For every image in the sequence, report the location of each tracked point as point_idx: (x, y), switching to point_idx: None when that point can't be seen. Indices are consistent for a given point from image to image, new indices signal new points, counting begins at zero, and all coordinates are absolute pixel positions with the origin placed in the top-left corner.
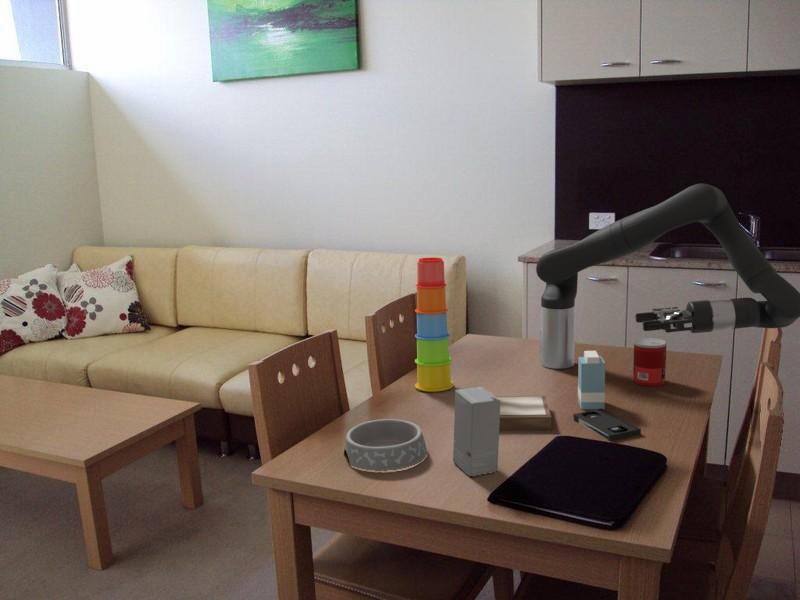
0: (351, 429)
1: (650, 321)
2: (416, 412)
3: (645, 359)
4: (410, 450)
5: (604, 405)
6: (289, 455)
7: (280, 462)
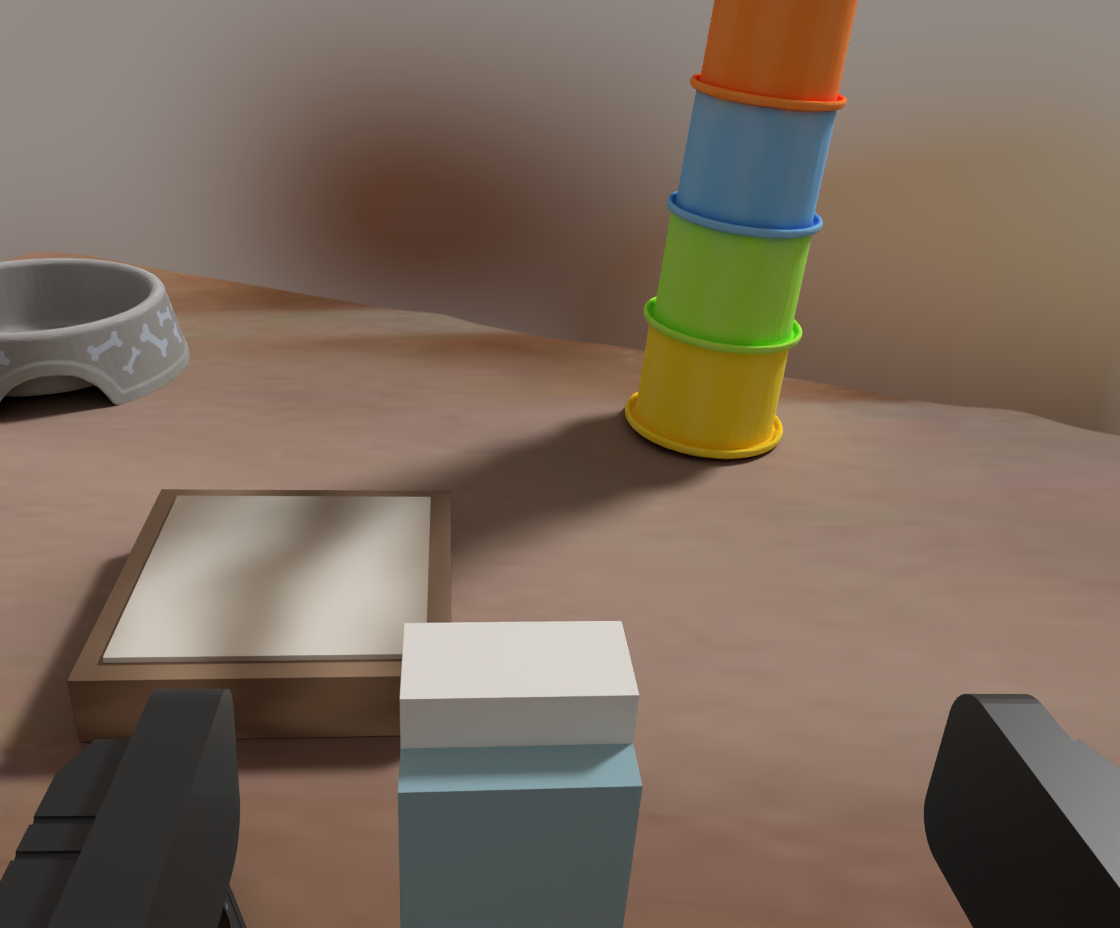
0: (99, 260)
1: (113, 783)
2: (413, 399)
3: None
4: None
5: None
6: None
7: None
